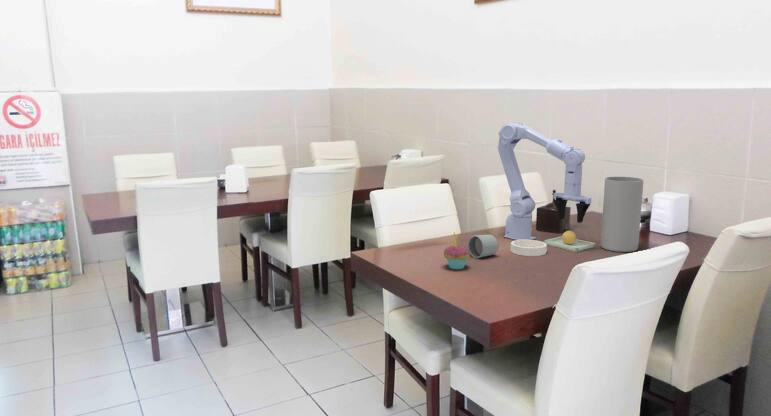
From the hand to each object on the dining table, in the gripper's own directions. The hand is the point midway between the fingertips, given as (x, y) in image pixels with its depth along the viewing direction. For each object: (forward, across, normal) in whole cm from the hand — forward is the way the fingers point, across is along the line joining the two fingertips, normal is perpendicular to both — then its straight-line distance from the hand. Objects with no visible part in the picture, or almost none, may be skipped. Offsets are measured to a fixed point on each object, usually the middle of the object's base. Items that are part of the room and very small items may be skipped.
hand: (570, 220), depth 209 cm
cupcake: (+10, -6, -51) cm, 52 cm away
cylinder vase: (+10, +13, +11) cm, 20 cm away
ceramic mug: (+10, -11, -35) cm, 38 cm away
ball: (+6, 0, 0) cm, 6 cm away
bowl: (+9, -4, -18) cm, 21 cm away
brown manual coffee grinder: (+10, -20, +19) cm, 29 cm away
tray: (+9, 0, 0) cm, 9 cm away
